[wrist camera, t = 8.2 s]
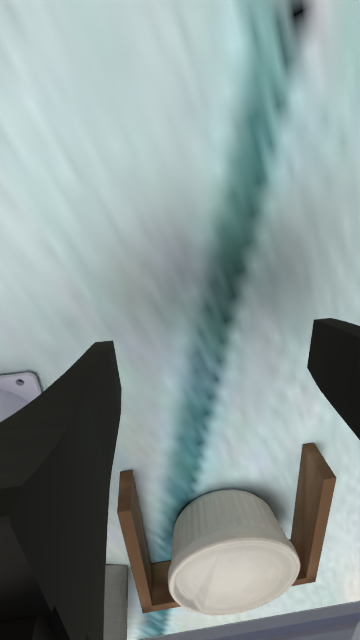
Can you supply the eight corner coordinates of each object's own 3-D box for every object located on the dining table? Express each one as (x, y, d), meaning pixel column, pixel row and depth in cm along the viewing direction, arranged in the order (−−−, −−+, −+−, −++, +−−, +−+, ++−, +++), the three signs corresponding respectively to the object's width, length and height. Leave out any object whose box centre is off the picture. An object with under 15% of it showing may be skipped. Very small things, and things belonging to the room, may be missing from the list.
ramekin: (144, 507, 29) (145, 573, 24) (257, 462, 28) (281, 521, 23) (191, 565, 33) (199, 630, 29) (288, 528, 33) (313, 588, 28)
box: (142, 570, 33) (142, 613, 29) (120, 472, 26) (117, 512, 23) (298, 543, 34) (315, 581, 31) (313, 442, 27) (336, 477, 24)
